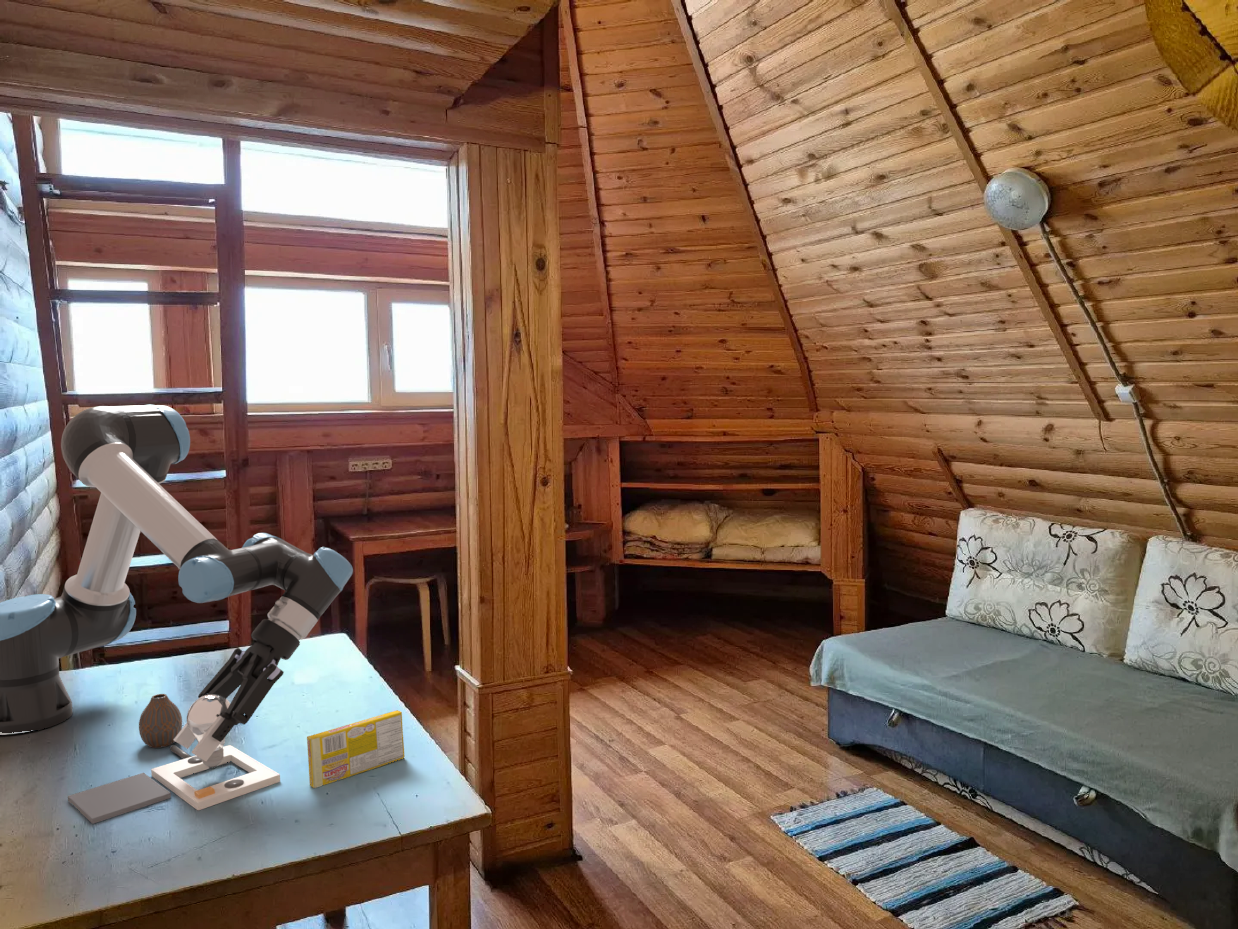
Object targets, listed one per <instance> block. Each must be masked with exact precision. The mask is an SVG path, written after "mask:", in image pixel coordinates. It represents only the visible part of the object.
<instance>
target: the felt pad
mask: <svg viewBox="0 0 1238 929" xmlns="http://www.w3.org/2000/svg"><path fill="white" fill-rule="evenodd" d="M171 798H172V793H171V791H170V790H169V789H166V788H165V786H163V785H161V784H160V783H158V781H157V780H156V781H155V780H154V778H153V777H150V776H149V775H147V774H146V773H145V772H141V773H138V774H135V775H132V776H128V777H125V778H121V779H118V780H115V781H112V782H108V783H106V784H102V785H100V786H95V787H92V788H89V789H85V790H83V791H80V792H76V793H74V794H70V795H67V801H68V803H70V804H71V803H72V804H73V805H74V806H75V807H76V808H77V809H78V810H79V811H80V812H79V811H78V810H77V809H76V808H75V807H74V806H73V805H72V804H71V805H72V806H73V807H74V808H75V809H76V810H77V811H78V812H79V813H81V814H82V816H83V817H84V818H86V820H88V821H89V822H90V823H91V824H93V825H94V824H96V823H100V822H103V821H106V820H109V819H111V818H114V817H118V816H120V815H123V814H126V813H130V812H133V811H136V810H138V809H142V808H144V807H148V806H150V805H153V804H157V803H160V802H162V801H165V800H168V799H171Z"/></svg>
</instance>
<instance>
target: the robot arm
mask: <svg viewBox="0 0 1238 929" xmlns="http://www.w3.org/2000/svg"><path fill="white" fill-rule="evenodd" d="M60 448H61V455H62V458H63V460H64V461H65V462H64V463H65V464H66V466H67V468H68V469H69V471H70V472H71V473H72V474H73V475H74V476H75V477H76V479H78V480H79V481H80V483H82V484H83V485H84V486H86V487H90V488H96V489H97V490H98V491H99V492H100V495H99V499H98V503H97V504H96V505H97V506H96V509H95V512H94V515H93V520H92V522H91V525H90V530H89V532H88V536H87V539H86V542H85V546H84V550H83V553H82V557H81V560H80V563H79V566H78V570H77V574H75V575H72V576H70V577H69V578H68V579H67V580H66V581H65V583H64V587H63V590H62V594H61V596H58V597H54V596H53V595H51V594H45V593H39V594H38V593H36V594H35V593H34V594H28V595H25V596H18V597H13V598H11V599H7V600H3V601H1V602H0V732H2V733H12V732H13V733H14V732H22V731H31V730H38V731H42V730H44V728H45V729H48V728H51V727H54V726H56V725H58V724H61V723H63V722H64V721H66V719H67V720H68V719H70V718H71V717H72V715H73V702H72V699H71V697H70V695H69V693H68V691H67V689H66V687H65V685H64V683H63V680H62V679H61V676H60V663H59V662H60V661H59V659H61V658H64V657H67V656H71V655H75V654H78V653H82V652H85V651H88V650H93V649H96V648H99V647H101V648H102V647H105V646H107V645H111V644H112V643H114V642H116V641H119V640H121V639H123V638H124V637H126V636H127V635H128V634H129V632H130V631H131V629H132V628H133V627H134V623H135V621H136V616H137V608H135V607H134V605H136V600H135V598H134V596H133V595H132V593H131V592H130V588H129V586H128V585H127V584H126V579H127V575H128V573H129V569H130V566H131V562H132V560H133V556H134V552H135V551H136V547H137V543H138V540H139V537H140V534H141V533H142V534H143V535H144V536H145V537H146V538H147V539H148V540H149V541H151V543H152V544H153V545H154V546H155V547H156V548H157V549H158V550H160V551H161V553H163V555H164V556H166V557H167V558H168V559H169V560H170V561H171V562H172V564H174V565H175V566H176V567H177V568H178V570H179V571H178V578H177V579H178V581H177V582H178V586H179V587H181V589H182V594H183V596H184V597H185V598H186V599H187V600H189V601H191V602H193V603H197V604H203V603H210V602H215V601H221V600H224V599H225V598H229V597H231V596H235V595H238V594H242V593H247V592H249V591H253V590H257V589H262V588H264V587H268V586H272V585H273V586H276V587H277V588H280V589H281V590H282V591H284V592H283V594H282V595H281V597H279V599H276V600H275V604H274V606H273V607H272V608H271V609H270V610H269V612H268V613H267V618H264V619H262V620H261V621H260V623H259V624H258V625H257V626H256V627H255V629H254V630H253V631H252V632H251V635H250V636H251V639H252V640H253V643H252V644H251V645H250V646H249V647H248V648H246V649H245V650H243V649H240V648H239V647H237V648H235V649H234V651H233V652H232V653H231V655H230V657H229V658H228V660H227V661H226V662H225V663H224V665H223V666H222V667H221V668H220V669H219V670H218V672H216V674H215V675H214V677H212V678H211V680H209V682H208V683H207V685H206V686H205V687H204V688H203V689H202V690H201V692H200V693H199V694H198V697H197V699H199V698H200V697H202V696H205V695H209V694H217V695H220V696H222V697H224V698H226V699H228V697H229V696H231V694H232V693H234V692H235V691H236V690H237V691H236V693H235V694H234V696H233V698H232V700H231V702H230V705H229V707H228V709H227V711H226V712H221V713H220V715H221V716H222V717H221V716H219V717H218V719H217V720H216V721H215V722H214V724H213V725H212V726H211V727H210V729H209V730H208V731H207V732H206V734H205V735H204V736H203V738H202V739H201V740H200V742H199V743H198V742H197V744H196V745H195V747H194V748H193V749H192V751H191V753H192V754H193V755H194V756H195V755H196V756H198V757H200V758H201V759H203V760H204V761H207V760H208V759H209V757H210V756H211V755H212V753H213V752H214V751H215V749H216V748H217V747H218V745H219V744H220V743H221V741H222V740H223V739H224V738H225V739H226V737H227V735H228V734H229V733H230V731H231V730H232V729H233V728H234V726H238V725H239V724H242V725H246V724H247V723H248V722H249V721H250V719H251V717H253V715H254V714H255V712H256V710H257V709H258V707H259V706H260V704H261V703H262V702H263V700H264V699H265V697H267V694H268V693H269V692H270V691H271V689H272V687H273V686H274V684H276V683H277V682H278V680H280V679H281V677H282V676H283V675H284V672H285V671H283V670H282V669H281V668H280V667H278V666H279V665H278V664H279V662H280V660H281V659H282V660H284V661H287V660H289V659H290V658H291V657H292V656H293V654H294V653H295V652H296V650H297V649H298V648H299V646H300V645H301V641H300V640H305V639H306V638H307V636H308V635H309V633H310V632H311V631H312V629H313V628H314V627H315V625H316V624H317V622H318V621H319V619H320V618H322V616H323V614H324V613H325V611H326V610H327V609H328V608H329V606H330V605H331V603H332V602H333V601H334V600H335V599H336V598H337V596H338V595H339V594H340V593H341V592H342V591H343V590H344V587H345V585H346V584H347V583H348V581H349V580H350V578H351V577H352V575H353V574H354V569H353V566H352V564H351V562H349V560H347V558H346V557H345V556H343V555H341V554H340V553H338V552H337V551H336V550H334V549H331V548H330V547H325V546H322V547H319V548H318V550H316V551H315V552H313V554H312V553H308V552H307V551H304V550H302V549H300V548H298V547H296V546H295V545H293V544H291V543H290V542H287V541H286V540H285V539H282V538H280V537H278V536H275V535H272V534H270V533H267V532H258V533H256V534H254V535H253V536H252V537H251V538H248V539H247V540H246V541H245V542H244V544H243V545H242V547H241V548H235V549H231V550H230V549H229V548H227V547H226V546H225V545H224V544H223V543H222V542H221V541H220V540H218V539H217V538H216V536H214V535H213V534H212V533H211V532H210V531H209V530H208V529H207V528H206V527H205V526H204V525H203V524H202V523H200V522H199V520H198V519H196V518H195V517H194V516H193V515H192V514H191V513H190V512H189V511H188V510H187V509H186V508H185V507H184V506H183V505H182V504H180V502H178V500H177V499H175V497H174V496H172V495H171V494H170V493H169V492H168V491H167V490H166V489H165V488H164V487H163V486H162V485H161V484H162V483H164V482H165V481H166V479H167V477H168V476H167V475H168V474H169V471H170V470H169V469H170V467H171V465H176V464H178V463H179V462H181V461H182V462H183V460H185V459H186V457H187V456H188V454H189V451H190V448H191V436H190V431H189V429H188V427H187V422H186V421H185V420H184V418H183V416H182V415H181V414H180V413H179V412H178V411H177V410H175V409H174V408H172V407H170V406H167V405H160V404H157V405H155V404H151V403H148V404H144V405H110V406H108V405H99V406H92V407H89V408H86V409H83V410H82V411H80V412H78V413H77V414H75V415H74V416H73V417H72V418H71V419H70V420H69V421H68V422H67V425H66V426H65V427H64V429H63V432H62V435H61V440H60ZM223 717H224V718H225V719H224V718H223ZM225 736H226V737H225ZM195 740H197V739H196V738H195V737H194V735H193V734H192V733H191V732H190V730H189V728H188V726H187V722H185V724H184V725H183V726H182V729H181V731H180V732H179V733H178V734H177V736H176V737H175V738H174V741H175V742H176V743H177V744H178V745H180V746H182V747H184V748H185V749H187V750H189V748H190V747H191V746H192V744H193V743H194V742H195ZM175 742H174V743H175Z"/></svg>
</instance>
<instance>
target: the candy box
mask: <svg viewBox="0 0 1238 929" xmlns="http://www.w3.org/2000/svg"><path fill="white" fill-rule="evenodd" d="M306 743H307V757H308V778H309V786H310V787H311V788H312V789H317V788H319V787H322V785H323V786H326V785H329V784H332V783H335V782H337V780H338V781H340V779H341V780H344V779H348V778H349V777H353V776H357V775H358V774H363V773H365V772H368V771H370V770H373V769H377V768H380V767H384V766H386V765H389V764H392V763H395V762H398V761H401V760H400V759H402V760H404V759H405V758H406V757H405V745H404V744H405V743H404V731H403V712H402V711H400V710H394V711H390V712H386V713H382V714H380V715H376V716H372V717H369V718H366V719H363V720H359V721H356V722H352V723H349V724H345V725H343V726H340V727H339V726H338V727H335V728H331V729H329V730H325V731H321V732H318V733H314V734H311V735H308V736H306ZM404 757H405V758H404ZM403 758H404V759H403ZM397 760H398V761H397ZM394 761H395V762H394ZM391 762H392V763H391ZM388 763H389V764H388Z"/></svg>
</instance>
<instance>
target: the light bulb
mask: <svg viewBox="0 0 1238 929" xmlns="http://www.w3.org/2000/svg"><path fill="white" fill-rule="evenodd" d="M230 704H231V702H230V701H229V700H228V698H224V697H222V696H220V695H217V694H209V695H205V696H202V697H200V698H197V699H196V700H195V701H194V702H193V703H192V704H191V705H190V707H189V709H188V711H187V714H186V723H187V726H188V728H189V730H190V732H191V733H192V734H193V735H194V737H195V738H196V739H195V740H196V741H197V744H198V743H199V742H200V740H201V739H202V738H203V736H204V735H205V734H206V732H207V731H208V730H209V729H210V727H211V726H212V725H213V724H214V722H215V721H216V720H217V719H218V717H219V716H221V715H220V713H221V712H226V711H227V709H228V707H229V705H230ZM221 717H222V716H221ZM223 718H224V717H223ZM224 719H225V718H224ZM226 737H227V735H226V736H225V738H224V739H223V740H222V741H221V743H220V744H219V745H218V747H217V748H216V749H215V751H214V752H213V753H212V755H211V756H210V757H209V759H208V760H207V761H204V760H203V759H201V760H202V762H203V764H205V765H206V766H208V767H209V769H214V768H217V767H218V765H219V764H220V763H221V761H222V760H223V759H224V756H223V755H224V752H223V751H224V749H223V747H225V746H224V745H225V742H226ZM219 766H220V765H219Z"/></svg>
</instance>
